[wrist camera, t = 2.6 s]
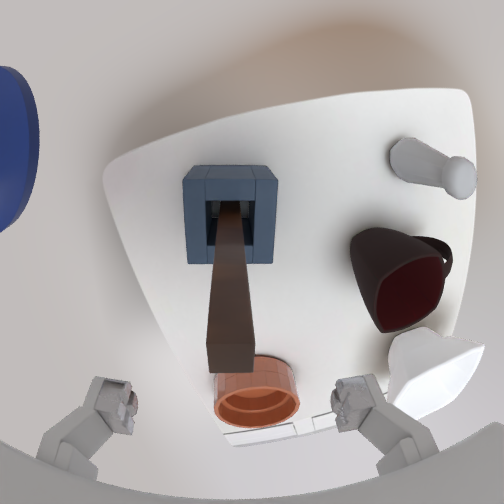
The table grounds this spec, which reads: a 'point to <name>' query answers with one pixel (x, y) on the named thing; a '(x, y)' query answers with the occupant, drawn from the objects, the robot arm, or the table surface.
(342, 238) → the table surface
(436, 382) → the bowl
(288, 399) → the terracotta round dish
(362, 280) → the mug
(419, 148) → the salt shaker
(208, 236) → the box
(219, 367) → the stirring stick
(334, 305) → the table surface
